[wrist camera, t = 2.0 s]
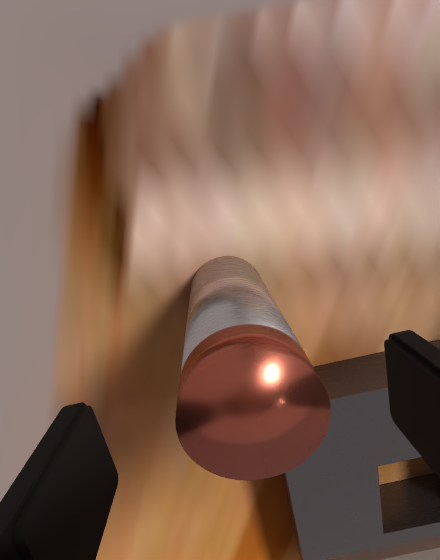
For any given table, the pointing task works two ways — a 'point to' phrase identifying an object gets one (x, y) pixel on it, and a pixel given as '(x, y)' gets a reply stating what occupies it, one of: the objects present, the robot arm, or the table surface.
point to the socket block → (359, 471)
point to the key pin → (245, 379)
